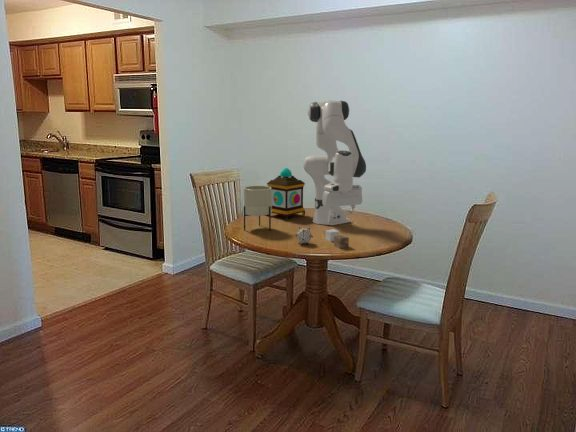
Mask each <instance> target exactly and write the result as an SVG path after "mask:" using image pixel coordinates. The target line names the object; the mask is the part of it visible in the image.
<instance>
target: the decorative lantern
mask: <svg viewBox="0 0 576 432" xmlns="http://www.w3.org/2000/svg"><path fill="white" fill-rule="evenodd" d="M305 184H306V183H305V181H302V180H301V179H299V178H296V177H295V175H292V171H291V170H290V169H289V168H287V167H284V168H283V169H281V171H280V175H277V177H275V178H274V179H270V181H268V182H266V186H269V187H271V188H272V213H271V214H276V215H280V216H284V218H285V221H288V219H289V216H291V215H292V216H293V215H297V214H301V215H302V217H304V216H305V215H306V210H305V208H304V187H305ZM268 215H269V214H268Z"/></svg>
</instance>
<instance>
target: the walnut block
mask: <svg viewBox="0 0 576 432" xmlns="http://www.w3.org/2000/svg"><path fill="white" fill-rule="evenodd" d="M349 240H350V238H349V237H348V236H346V235H344V234H343V235H342V234H341V235H340V234H339V236H334V242H333V246H334V247H335V248H337V249H346V248H347V249H348V248H349V245H350V244H349V243H350V241H349Z"/></svg>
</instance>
